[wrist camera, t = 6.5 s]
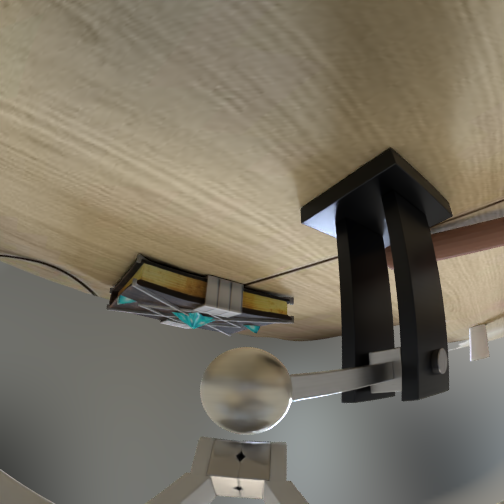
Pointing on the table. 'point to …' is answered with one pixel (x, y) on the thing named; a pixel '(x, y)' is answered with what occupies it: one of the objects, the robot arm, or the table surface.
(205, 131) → the table surface
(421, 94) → the table surface
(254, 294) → the book
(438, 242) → the pizza cutter
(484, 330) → the white coffee cup
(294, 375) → the lever
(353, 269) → the black lever stand
